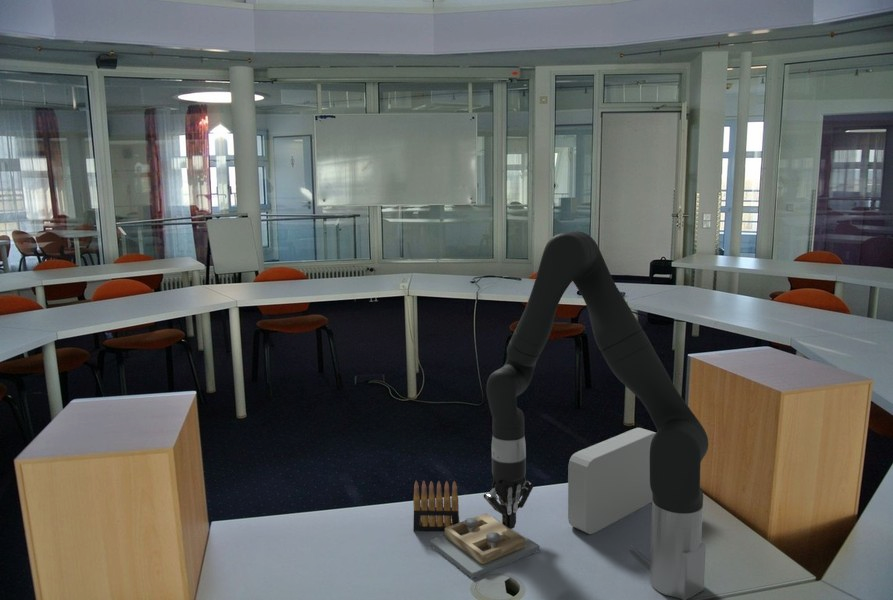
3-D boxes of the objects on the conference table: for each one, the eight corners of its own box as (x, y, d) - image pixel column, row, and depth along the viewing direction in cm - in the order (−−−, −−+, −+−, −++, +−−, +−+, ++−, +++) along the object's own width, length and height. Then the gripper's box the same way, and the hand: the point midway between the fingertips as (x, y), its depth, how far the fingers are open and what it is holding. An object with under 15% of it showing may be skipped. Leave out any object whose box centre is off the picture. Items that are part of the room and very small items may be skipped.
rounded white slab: (633, 488, 173) (634, 422, 170) (659, 498, 167) (661, 430, 164) (559, 525, 155) (560, 452, 152) (585, 538, 149) (586, 462, 146)
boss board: (539, 550, 144) (539, 530, 144) (472, 578, 134) (472, 556, 134) (494, 521, 157) (493, 502, 157) (430, 545, 148) (429, 525, 147)
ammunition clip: (413, 531, 154) (411, 482, 152) (414, 527, 156) (412, 479, 154) (459, 531, 153) (458, 482, 151) (459, 527, 155) (458, 479, 153)
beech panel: (525, 546, 143) (525, 538, 143) (482, 564, 137) (482, 555, 137) (485, 521, 155) (485, 513, 154) (444, 536, 148) (444, 527, 148)
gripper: (495, 467, 140) (496, 543, 143) (542, 452, 147) (542, 525, 150) (474, 456, 146) (475, 529, 149) (520, 442, 154) (521, 512, 156)
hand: (509, 527), depth 150 cm, fingers closed
